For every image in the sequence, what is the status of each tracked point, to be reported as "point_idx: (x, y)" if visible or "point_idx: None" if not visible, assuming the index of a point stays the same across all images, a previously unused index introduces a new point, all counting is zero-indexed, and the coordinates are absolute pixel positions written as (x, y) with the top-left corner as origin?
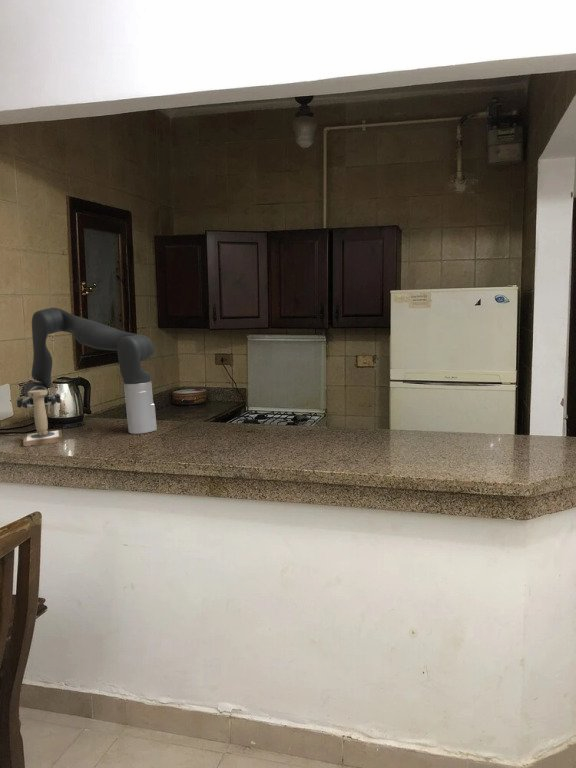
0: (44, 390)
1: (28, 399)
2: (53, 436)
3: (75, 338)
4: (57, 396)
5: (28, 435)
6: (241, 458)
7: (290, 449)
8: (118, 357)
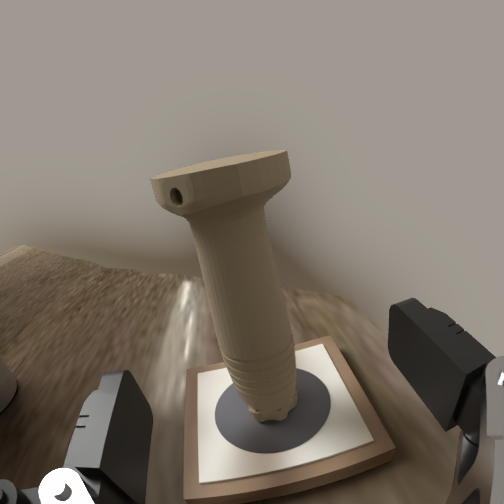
0: (166, 175)
1: (484, 434)
2: (219, 375)
3: None
4: (14, 485)
5: (352, 416)
6: (46, 265)
7: (8, 277)
8: None
